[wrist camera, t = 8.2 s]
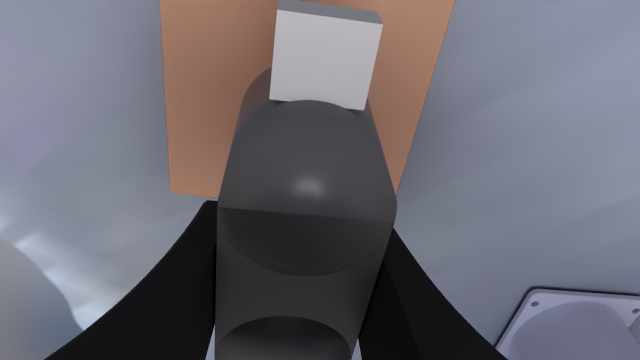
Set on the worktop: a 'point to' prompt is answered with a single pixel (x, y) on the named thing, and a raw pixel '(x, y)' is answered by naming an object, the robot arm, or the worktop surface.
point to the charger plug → (304, 194)
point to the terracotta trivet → (257, 56)
